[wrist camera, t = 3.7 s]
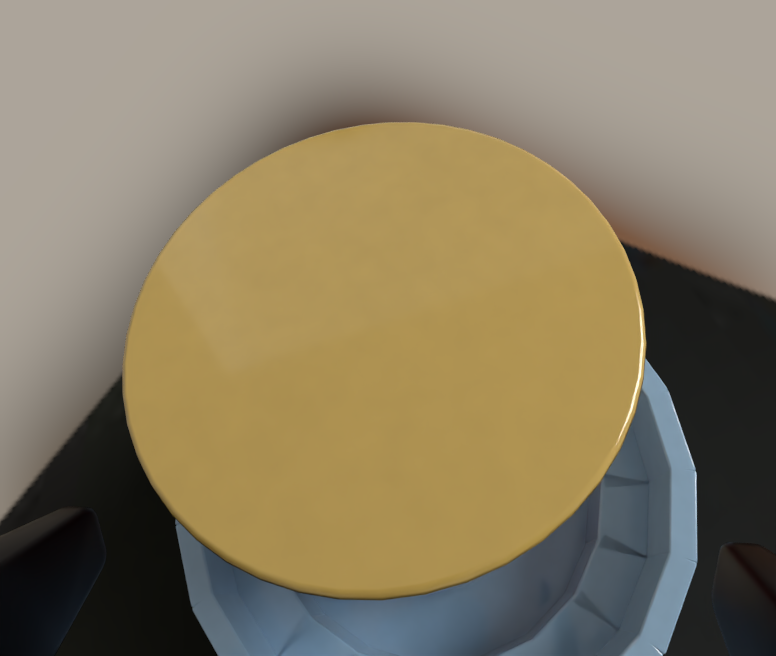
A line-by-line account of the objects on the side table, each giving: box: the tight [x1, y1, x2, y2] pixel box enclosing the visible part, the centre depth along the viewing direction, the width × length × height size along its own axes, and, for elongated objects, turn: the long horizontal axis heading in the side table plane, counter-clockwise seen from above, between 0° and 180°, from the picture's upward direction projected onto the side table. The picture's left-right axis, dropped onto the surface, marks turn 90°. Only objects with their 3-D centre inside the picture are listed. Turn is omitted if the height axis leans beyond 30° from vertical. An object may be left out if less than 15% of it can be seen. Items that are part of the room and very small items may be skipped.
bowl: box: [175, 359, 697, 656], centre depth 15 cm, size 13×13×4 cm
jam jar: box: [123, 122, 646, 600], centre depth 12 cm, size 6×6×12 cm
